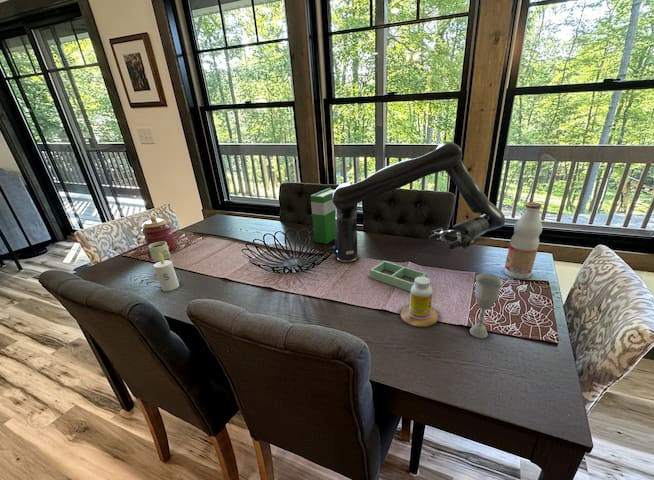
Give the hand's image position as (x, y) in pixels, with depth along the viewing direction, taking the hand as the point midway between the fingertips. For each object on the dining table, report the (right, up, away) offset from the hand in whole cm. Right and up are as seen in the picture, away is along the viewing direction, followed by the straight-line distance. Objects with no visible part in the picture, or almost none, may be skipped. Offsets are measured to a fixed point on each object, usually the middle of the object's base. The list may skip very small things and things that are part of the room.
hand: (439, 243), depth 106 cm
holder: (-11, -13, +17) cm, 24 cm away
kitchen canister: (-126, +1, +55) cm, 138 cm away
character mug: (-111, -10, +32) cm, 116 cm away
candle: (-102, -16, +19) cm, 105 cm away
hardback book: (-40, +8, +61) cm, 73 cm away
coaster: (-8, -24, -5) cm, 26 cm away
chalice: (+8, -28, -13) cm, 32 cm away
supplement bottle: (-8, -24, -5) cm, 26 cm away
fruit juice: (+36, -11, +17) cm, 41 cm away
